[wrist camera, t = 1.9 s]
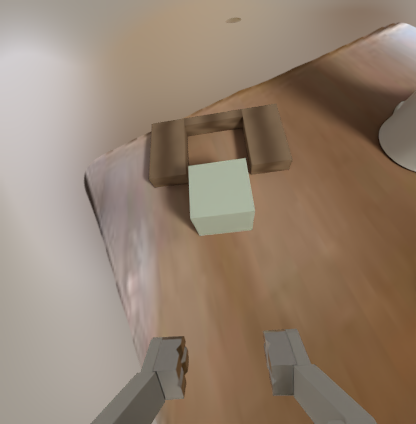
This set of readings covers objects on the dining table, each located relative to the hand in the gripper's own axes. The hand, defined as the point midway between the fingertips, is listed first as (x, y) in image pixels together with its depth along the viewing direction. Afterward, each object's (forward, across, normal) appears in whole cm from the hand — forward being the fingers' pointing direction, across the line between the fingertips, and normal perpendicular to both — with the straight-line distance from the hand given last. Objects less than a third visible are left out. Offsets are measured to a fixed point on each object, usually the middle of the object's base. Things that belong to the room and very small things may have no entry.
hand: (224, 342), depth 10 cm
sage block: (+29, 0, +4) cm, 30 cm away
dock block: (+39, 0, -6) cm, 39 cm away
